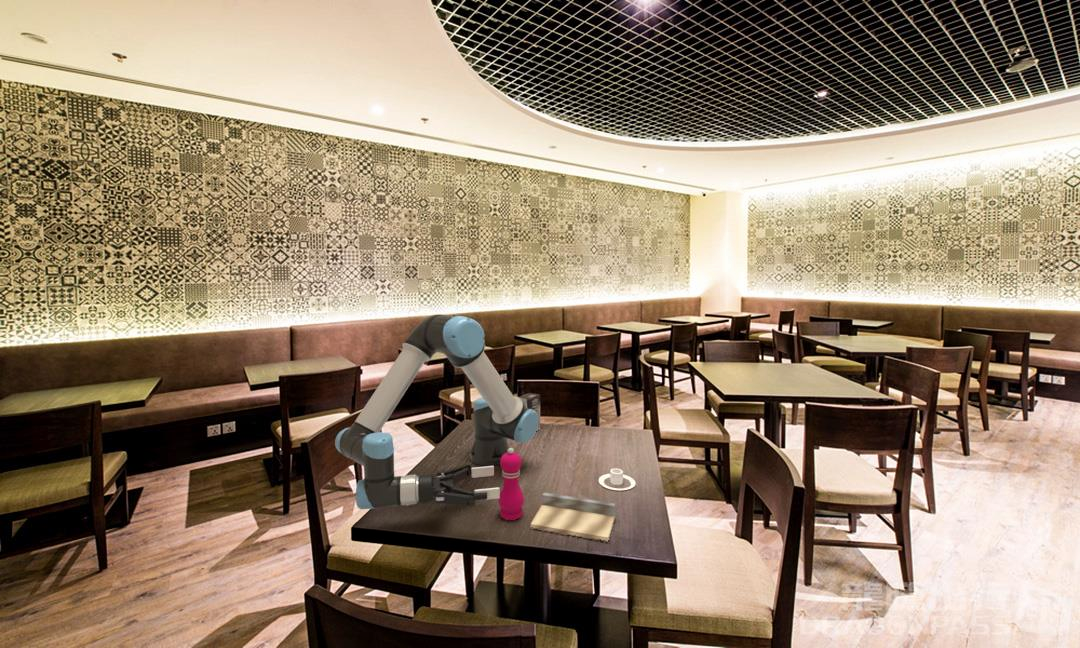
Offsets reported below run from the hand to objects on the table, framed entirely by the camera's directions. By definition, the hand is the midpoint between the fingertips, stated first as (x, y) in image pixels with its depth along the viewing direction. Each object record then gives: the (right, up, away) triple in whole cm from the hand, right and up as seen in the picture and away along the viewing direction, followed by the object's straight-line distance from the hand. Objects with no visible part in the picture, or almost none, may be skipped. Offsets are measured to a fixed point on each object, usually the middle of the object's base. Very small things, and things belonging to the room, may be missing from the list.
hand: (496, 481), depth 125 cm
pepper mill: (+4, -11, +3) cm, 12 cm away
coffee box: (+7, -3, +69) cm, 70 cm away
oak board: (+21, -11, -2) cm, 24 cm away
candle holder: (+37, -9, +22) cm, 45 cm away
